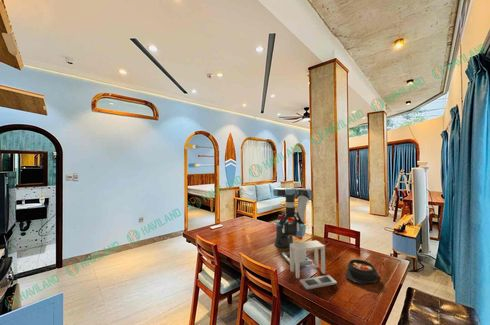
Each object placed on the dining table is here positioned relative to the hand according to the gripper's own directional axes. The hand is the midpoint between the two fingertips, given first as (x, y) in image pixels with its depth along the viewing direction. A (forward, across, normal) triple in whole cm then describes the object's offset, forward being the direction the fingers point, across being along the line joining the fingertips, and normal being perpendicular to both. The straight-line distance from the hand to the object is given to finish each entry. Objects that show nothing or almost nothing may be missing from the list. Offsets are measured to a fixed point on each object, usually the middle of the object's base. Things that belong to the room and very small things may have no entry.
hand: (290, 231), depth 165 cm
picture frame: (+19, 0, -9) cm, 21 cm away
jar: (+20, 0, -14) cm, 25 cm away
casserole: (+20, +32, -41) cm, 56 cm away
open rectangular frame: (+20, 0, -32) cm, 38 cm away
